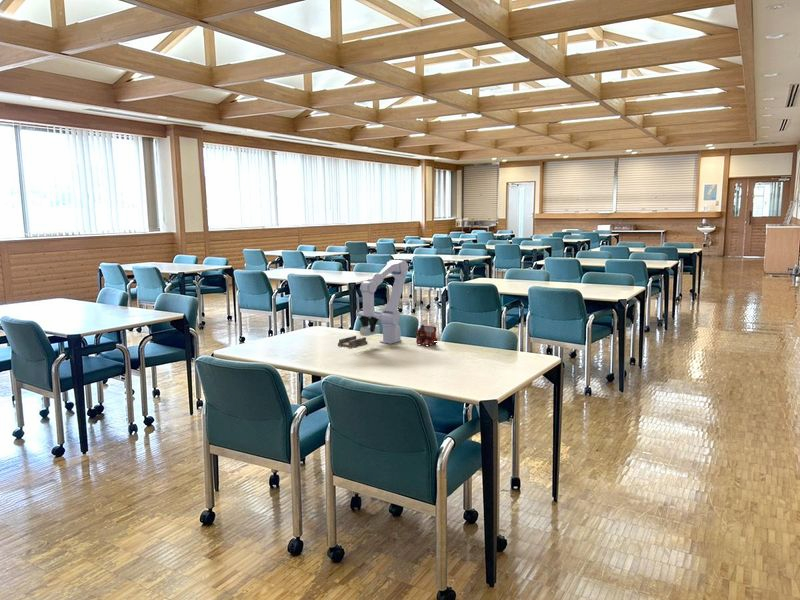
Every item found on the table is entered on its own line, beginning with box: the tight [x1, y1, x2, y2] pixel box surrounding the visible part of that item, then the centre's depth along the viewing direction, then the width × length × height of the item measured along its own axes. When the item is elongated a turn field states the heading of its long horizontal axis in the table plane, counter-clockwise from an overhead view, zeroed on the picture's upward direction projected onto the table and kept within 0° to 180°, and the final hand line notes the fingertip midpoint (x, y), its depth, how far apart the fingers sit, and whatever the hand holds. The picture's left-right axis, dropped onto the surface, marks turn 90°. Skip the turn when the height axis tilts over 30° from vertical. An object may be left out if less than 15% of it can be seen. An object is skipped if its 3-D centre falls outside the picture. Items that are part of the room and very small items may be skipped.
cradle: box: [337, 335, 368, 348], centre depth 309 cm, size 12×10×3 cm
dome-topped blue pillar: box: [359, 324, 381, 337], centre depth 301 cm, size 12×4×4 cm, turn 140°
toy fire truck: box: [415, 324, 438, 347], centre depth 305 cm, size 7×12×10 cm, turn 48°
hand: (369, 331), depth 301 cm, fingers closed on dome-topped blue pillar, 4 cm apart
